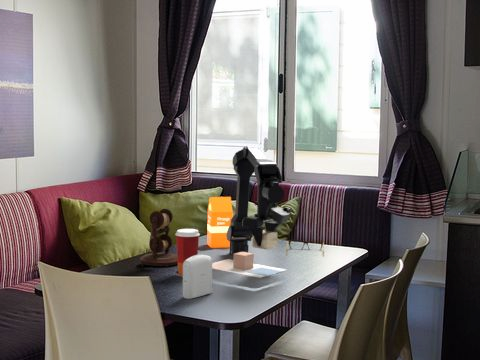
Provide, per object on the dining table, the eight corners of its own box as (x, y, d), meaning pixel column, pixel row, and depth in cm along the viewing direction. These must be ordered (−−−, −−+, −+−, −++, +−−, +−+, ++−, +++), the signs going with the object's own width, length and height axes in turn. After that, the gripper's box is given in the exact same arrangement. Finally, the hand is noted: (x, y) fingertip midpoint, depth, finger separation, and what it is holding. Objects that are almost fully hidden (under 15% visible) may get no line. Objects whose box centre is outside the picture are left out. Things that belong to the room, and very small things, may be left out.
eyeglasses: (323, 250, 302) (323, 240, 302) (323, 258, 288) (323, 247, 288) (287, 249, 304) (288, 239, 303) (286, 256, 290) (286, 246, 289)
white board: (199, 268, 263) (199, 265, 263) (228, 261, 276) (228, 258, 276) (261, 280, 247) (261, 277, 247) (288, 272, 260) (288, 269, 260)
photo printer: (190, 300, 222) (191, 258, 221) (180, 297, 225) (180, 256, 223) (214, 293, 230) (214, 253, 228) (203, 291, 232) (204, 251, 231)
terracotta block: (233, 267, 261) (233, 253, 261) (241, 265, 265) (242, 251, 265) (244, 270, 258) (244, 255, 258) (253, 267, 262) (253, 253, 261)
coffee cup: (203, 272, 257) (203, 229, 256) (193, 277, 250) (194, 233, 248) (180, 270, 260) (180, 227, 259) (170, 275, 252) (171, 231, 251)
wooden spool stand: (151, 259, 277) (152, 205, 275) (188, 263, 272) (189, 208, 270) (132, 267, 263) (132, 211, 261) (170, 271, 258) (170, 214, 256)
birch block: (252, 247, 255) (252, 232, 254) (262, 244, 259) (263, 230, 259) (266, 249, 251) (267, 234, 251) (277, 246, 256) (277, 232, 255)
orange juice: (207, 244, 309) (207, 195, 307) (228, 243, 311) (228, 195, 309) (210, 247, 302) (211, 198, 300) (232, 247, 304) (233, 198, 302)
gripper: (269, 204, 241) (268, 252, 243) (301, 198, 256) (299, 244, 258) (241, 200, 248) (240, 247, 250) (274, 195, 263) (273, 239, 264)
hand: (264, 244), depth 255 cm, fingers closed on birch block, 6 cm apart
